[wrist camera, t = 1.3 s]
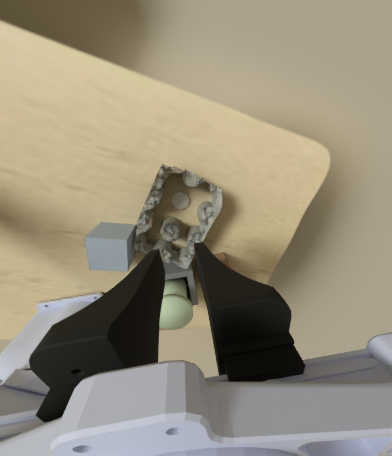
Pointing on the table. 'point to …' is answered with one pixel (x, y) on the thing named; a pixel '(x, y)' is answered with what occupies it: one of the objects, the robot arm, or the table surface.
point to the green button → (175, 305)
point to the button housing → (177, 272)
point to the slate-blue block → (111, 246)
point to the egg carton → (172, 224)
